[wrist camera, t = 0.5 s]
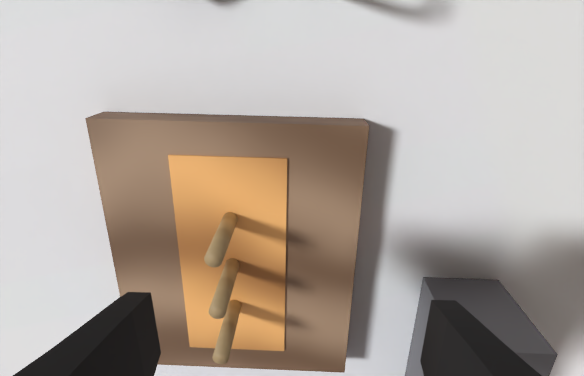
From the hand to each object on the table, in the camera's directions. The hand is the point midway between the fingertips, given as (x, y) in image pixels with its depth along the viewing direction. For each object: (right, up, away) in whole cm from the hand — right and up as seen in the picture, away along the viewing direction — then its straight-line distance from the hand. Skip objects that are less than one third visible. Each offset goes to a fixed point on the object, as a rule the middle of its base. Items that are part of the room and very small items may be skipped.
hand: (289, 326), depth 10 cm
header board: (-3, +1, +10) cm, 10 cm away
